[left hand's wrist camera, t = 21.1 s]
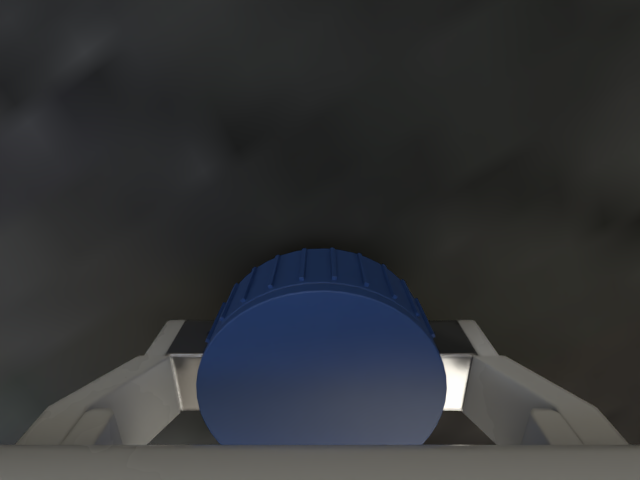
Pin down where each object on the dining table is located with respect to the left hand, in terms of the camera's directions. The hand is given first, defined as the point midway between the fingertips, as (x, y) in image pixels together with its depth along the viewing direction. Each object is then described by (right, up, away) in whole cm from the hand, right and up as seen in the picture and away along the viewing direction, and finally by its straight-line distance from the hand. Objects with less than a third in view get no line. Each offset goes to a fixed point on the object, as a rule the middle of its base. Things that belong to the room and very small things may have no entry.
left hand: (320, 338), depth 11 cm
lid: (0, -1, -2) cm, 2 cm away
